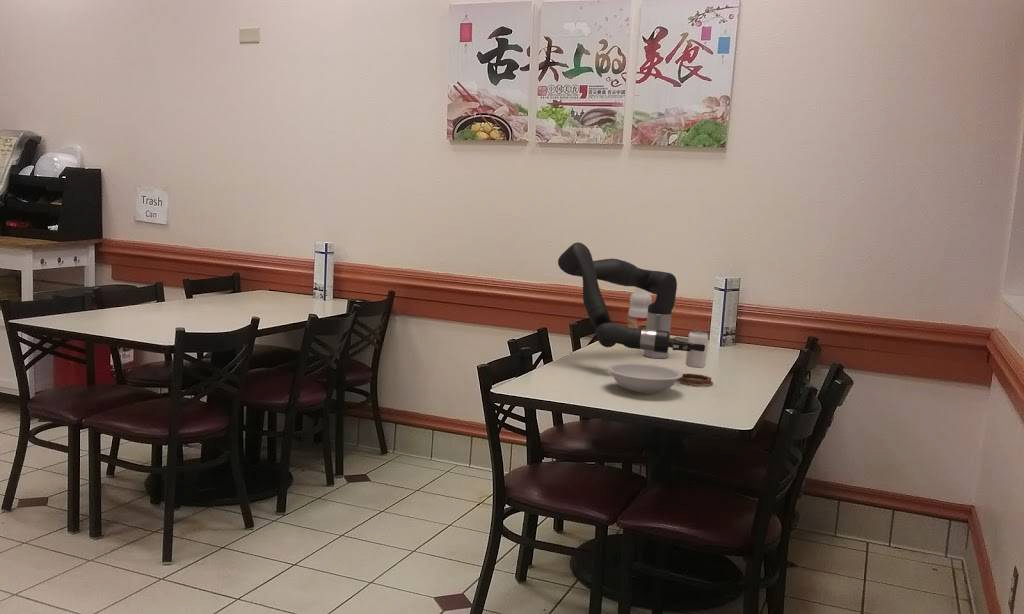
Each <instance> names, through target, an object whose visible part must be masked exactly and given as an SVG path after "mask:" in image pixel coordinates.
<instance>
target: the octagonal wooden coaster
mask: <svg viewBox="0 0 1024 614" xmlns="http://www.w3.org/2000/svg"><path fill="white" fill-rule="evenodd" d="M682 374H683V377H682V378H680V379H677V381H676V383H678V382H680V383H679V384H681V383H682V384H681V385H685V384H686V385H685V386H690V385H692V386H691V387H699V386H706V387H711V386H713V383H714V382H713V381H712V377H710V376H707V375H703V374H697V373H682ZM710 385H711V386H710Z"/></svg>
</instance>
